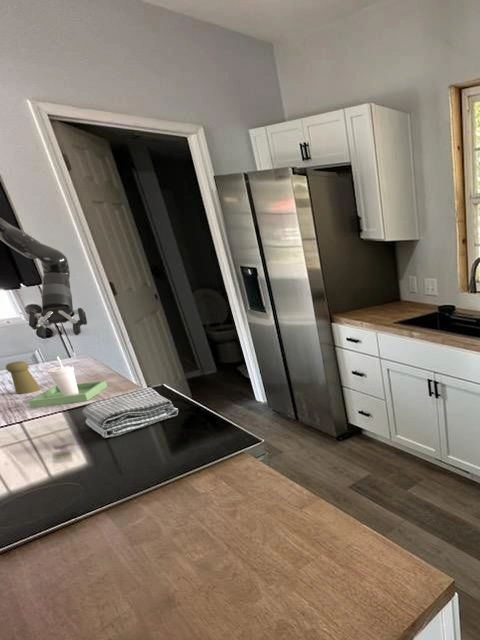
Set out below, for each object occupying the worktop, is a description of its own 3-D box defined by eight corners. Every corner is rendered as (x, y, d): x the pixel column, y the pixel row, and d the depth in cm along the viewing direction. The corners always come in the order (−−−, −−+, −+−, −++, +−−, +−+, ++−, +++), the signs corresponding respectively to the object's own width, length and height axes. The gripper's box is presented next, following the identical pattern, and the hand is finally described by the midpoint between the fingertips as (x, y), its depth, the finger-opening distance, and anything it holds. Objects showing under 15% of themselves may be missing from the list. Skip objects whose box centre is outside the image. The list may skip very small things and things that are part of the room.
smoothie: (81, 395, 143) (65, 357, 138) (56, 399, 140) (38, 360, 135) (86, 389, 148) (70, 352, 143) (61, 393, 145) (44, 356, 140)
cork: (30, 387, 153) (16, 359, 149) (45, 387, 153) (32, 359, 149) (11, 394, 147) (-4, 365, 143) (27, 394, 147) (13, 365, 143)
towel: (86, 429, 120) (75, 404, 117) (161, 406, 135) (153, 384, 132) (105, 441, 113) (94, 416, 110) (182, 416, 127) (174, 393, 124)
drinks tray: (31, 407, 135) (27, 401, 134) (56, 392, 148) (53, 386, 147) (87, 400, 140) (85, 394, 140) (107, 386, 153) (105, 380, 152)
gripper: (88, 302, 158) (91, 338, 153) (35, 307, 151) (37, 344, 146) (78, 290, 152) (81, 327, 147) (23, 294, 145) (24, 332, 140)
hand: (59, 335), depth 146 cm, fingers open, 8 cm apart
